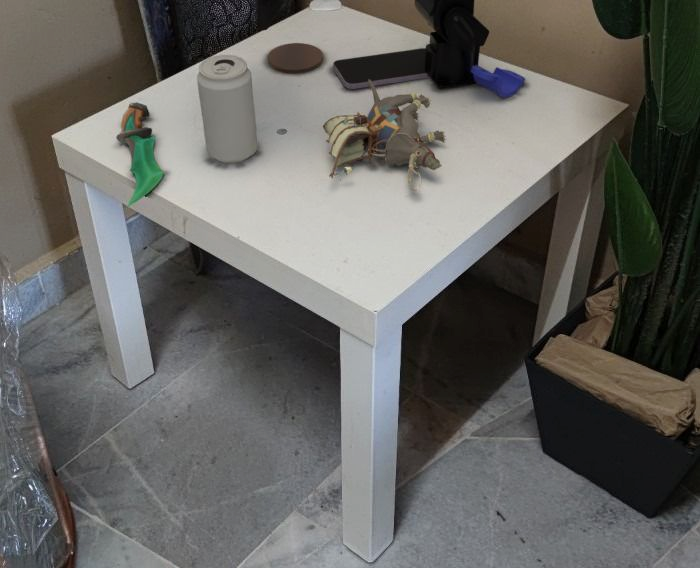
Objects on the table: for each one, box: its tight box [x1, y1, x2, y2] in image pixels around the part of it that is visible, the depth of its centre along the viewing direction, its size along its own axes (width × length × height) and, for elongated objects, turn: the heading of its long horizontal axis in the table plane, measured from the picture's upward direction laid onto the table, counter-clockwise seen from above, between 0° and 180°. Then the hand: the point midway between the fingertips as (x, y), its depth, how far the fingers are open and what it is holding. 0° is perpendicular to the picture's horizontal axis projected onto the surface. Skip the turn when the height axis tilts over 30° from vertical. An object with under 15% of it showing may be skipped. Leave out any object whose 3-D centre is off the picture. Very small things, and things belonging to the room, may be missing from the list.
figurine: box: [322, 79, 447, 194], centre depth 112 cm, size 20×6×17 cm
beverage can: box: [196, 54, 259, 164], centre depth 111 cm, size 6×6×12 cm
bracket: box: [471, 64, 526, 99], centre depth 124 cm, size 9×5×3 cm, turn 129°
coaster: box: [267, 42, 324, 74], centre depth 132 cm, size 8×8×1 cm
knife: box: [116, 102, 165, 208], centre depth 113 cm, size 21×2×5 cm
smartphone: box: [332, 47, 430, 90], centre depth 129 cm, size 7×1×15 cm
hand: (252, 13), depth 112 cm, fingers open, 9 cm apart
